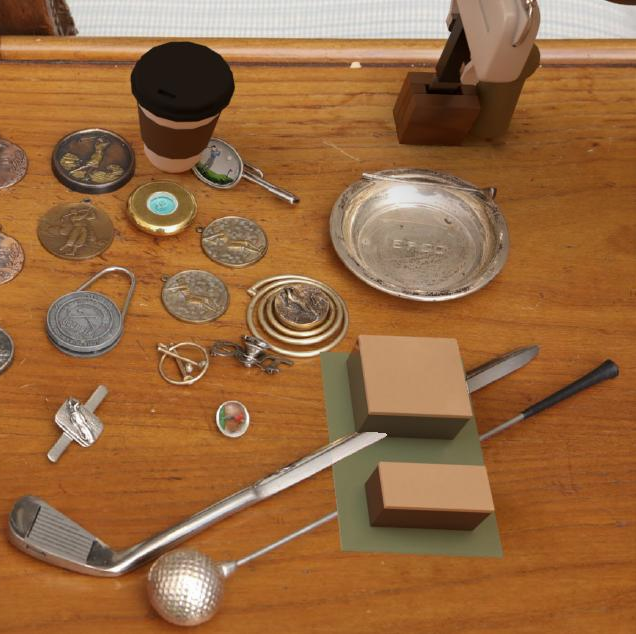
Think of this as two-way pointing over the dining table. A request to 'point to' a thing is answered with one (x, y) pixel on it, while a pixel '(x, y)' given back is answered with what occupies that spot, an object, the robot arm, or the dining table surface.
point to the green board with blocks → (402, 435)
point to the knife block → (434, 112)
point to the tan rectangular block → (428, 496)
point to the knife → (451, 62)
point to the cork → (501, 100)
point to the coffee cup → (180, 101)
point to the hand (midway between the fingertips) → (460, 53)
